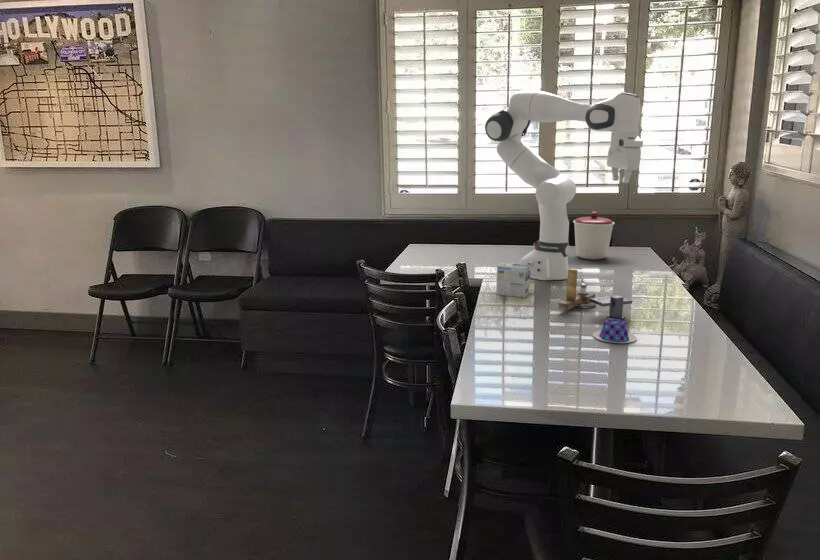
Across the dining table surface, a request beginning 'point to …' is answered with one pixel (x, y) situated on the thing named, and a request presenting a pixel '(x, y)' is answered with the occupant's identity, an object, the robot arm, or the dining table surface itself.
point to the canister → (592, 236)
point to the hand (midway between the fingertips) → (620, 181)
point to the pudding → (615, 332)
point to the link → (573, 293)
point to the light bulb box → (513, 279)
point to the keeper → (612, 305)
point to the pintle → (583, 292)
